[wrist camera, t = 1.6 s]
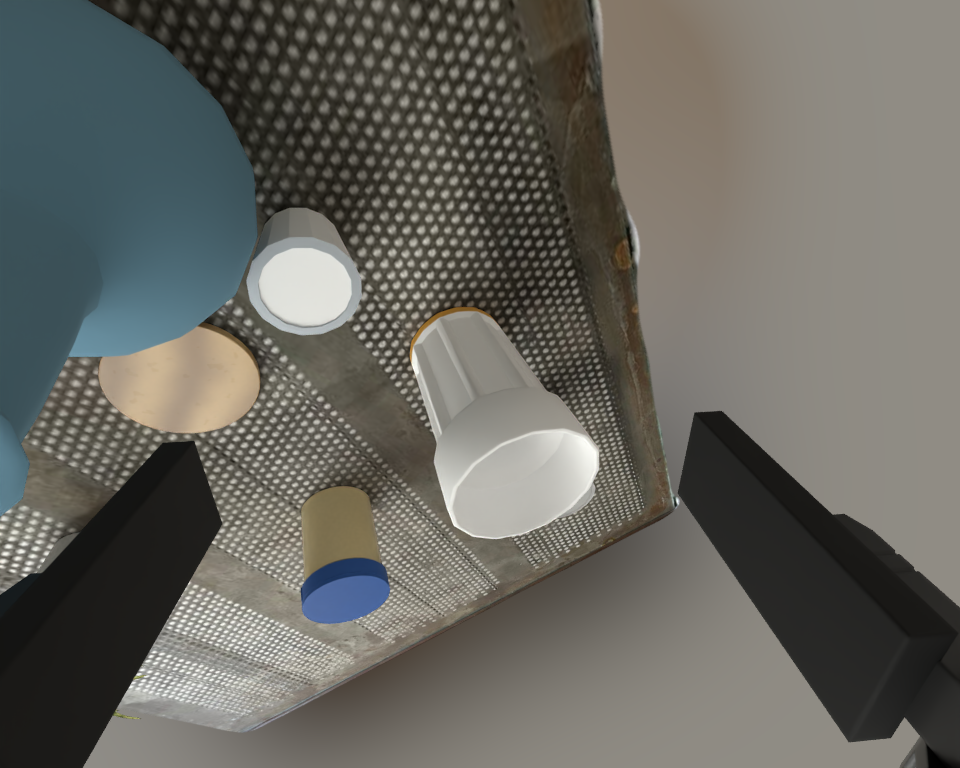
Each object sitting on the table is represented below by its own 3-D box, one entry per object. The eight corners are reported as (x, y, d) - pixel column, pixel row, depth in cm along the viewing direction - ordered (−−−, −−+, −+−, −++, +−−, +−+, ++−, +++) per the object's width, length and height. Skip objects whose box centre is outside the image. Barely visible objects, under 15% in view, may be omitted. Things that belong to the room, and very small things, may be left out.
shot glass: (309, 178, 33) (316, 214, 28) (368, 256, 37) (383, 300, 32) (227, 233, 33) (219, 278, 28) (296, 303, 38) (299, 353, 33)
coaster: (105, 424, 39) (102, 430, 38) (95, 306, 33) (92, 312, 33) (254, 430, 44) (253, 436, 43) (267, 328, 38) (267, 333, 38)
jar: (296, 531, 54) (299, 622, 47) (306, 486, 50) (312, 576, 43) (362, 528, 58) (376, 611, 50) (377, 485, 54) (394, 569, 46)
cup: (372, 363, 44) (412, 519, 31) (454, 271, 40) (537, 402, 28) (458, 410, 51) (519, 552, 38) (534, 334, 47) (628, 461, 35)
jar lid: (294, 610, 48) (295, 629, 46) (307, 561, 43) (308, 580, 42) (376, 600, 51) (379, 617, 50) (395, 554, 47) (399, 571, 46)
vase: (107, -97, 23) (-575, -418, 4) (312, 212, 34) (356, 477, 16) (-195, 70, 23) (-2016, 408, 5) (109, 321, 34) (-78, 706, 16)
